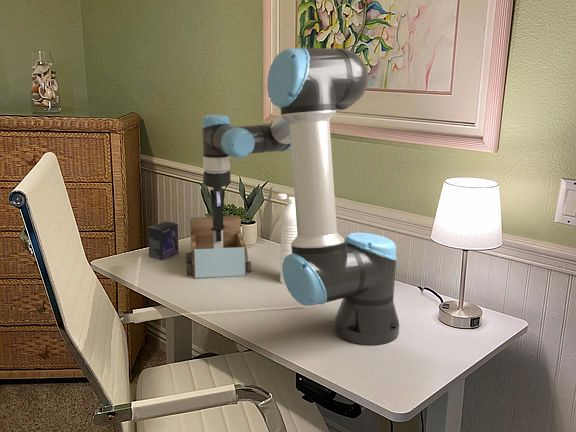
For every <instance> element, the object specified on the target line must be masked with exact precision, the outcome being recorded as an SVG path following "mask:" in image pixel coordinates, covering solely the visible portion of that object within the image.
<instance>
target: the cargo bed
mask: <svg viewBox="0 0 576 432" xmlns="http://www.w3.org/2000/svg"><path fill="white" fill-rule="evenodd" d="M241 220H242V219H241V216H240V215H232V216H223V225H225V227H224V228H223V248H236V247H244V248H245V274H246V275H247V273H252V262H251V261H249V258H248V257H249V256H248V250H247V246H246V243H245V240H244V237H243V234H242V228H241V227H242V225H241V224H242V223H241ZM189 222H190V247H191V248H190V250H191V252H186V253H185V255H186V257H185V259H186V275H187V276H192V277H193V278H194V276H195V257H194V249H213V248H214V239H213V231H212V230H211V228H214V227H213V216H202V217H201V216H200V217H190V218H189Z"/></svg>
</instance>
